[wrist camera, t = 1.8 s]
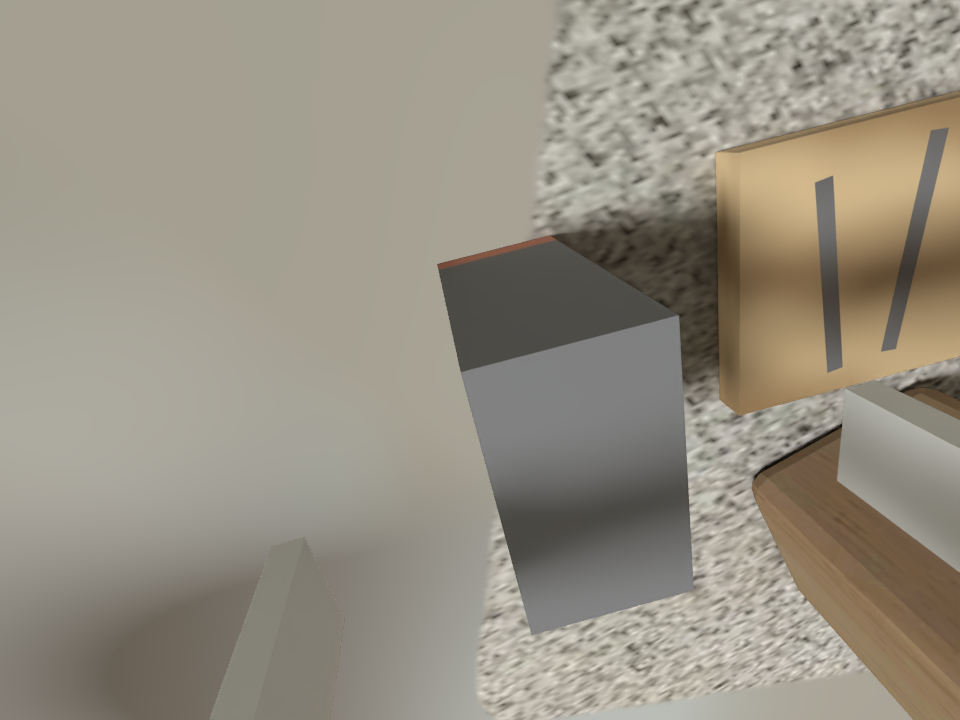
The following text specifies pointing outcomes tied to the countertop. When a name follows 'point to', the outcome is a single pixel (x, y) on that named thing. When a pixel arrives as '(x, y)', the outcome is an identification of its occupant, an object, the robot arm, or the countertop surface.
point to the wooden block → (869, 574)
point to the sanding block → (575, 427)
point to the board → (839, 254)
